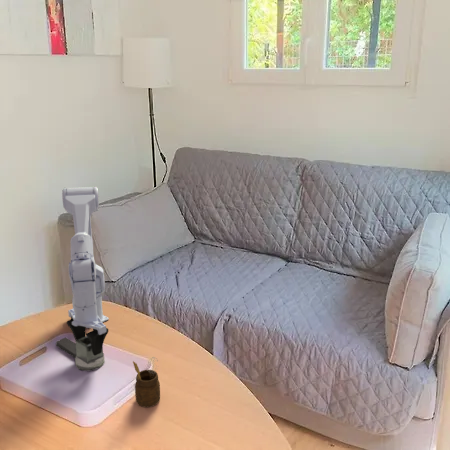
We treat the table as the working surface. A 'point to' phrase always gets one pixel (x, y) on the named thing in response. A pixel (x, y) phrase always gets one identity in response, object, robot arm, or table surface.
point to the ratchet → (71, 350)
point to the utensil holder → (147, 387)
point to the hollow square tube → (86, 350)
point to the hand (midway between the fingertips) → (89, 348)
